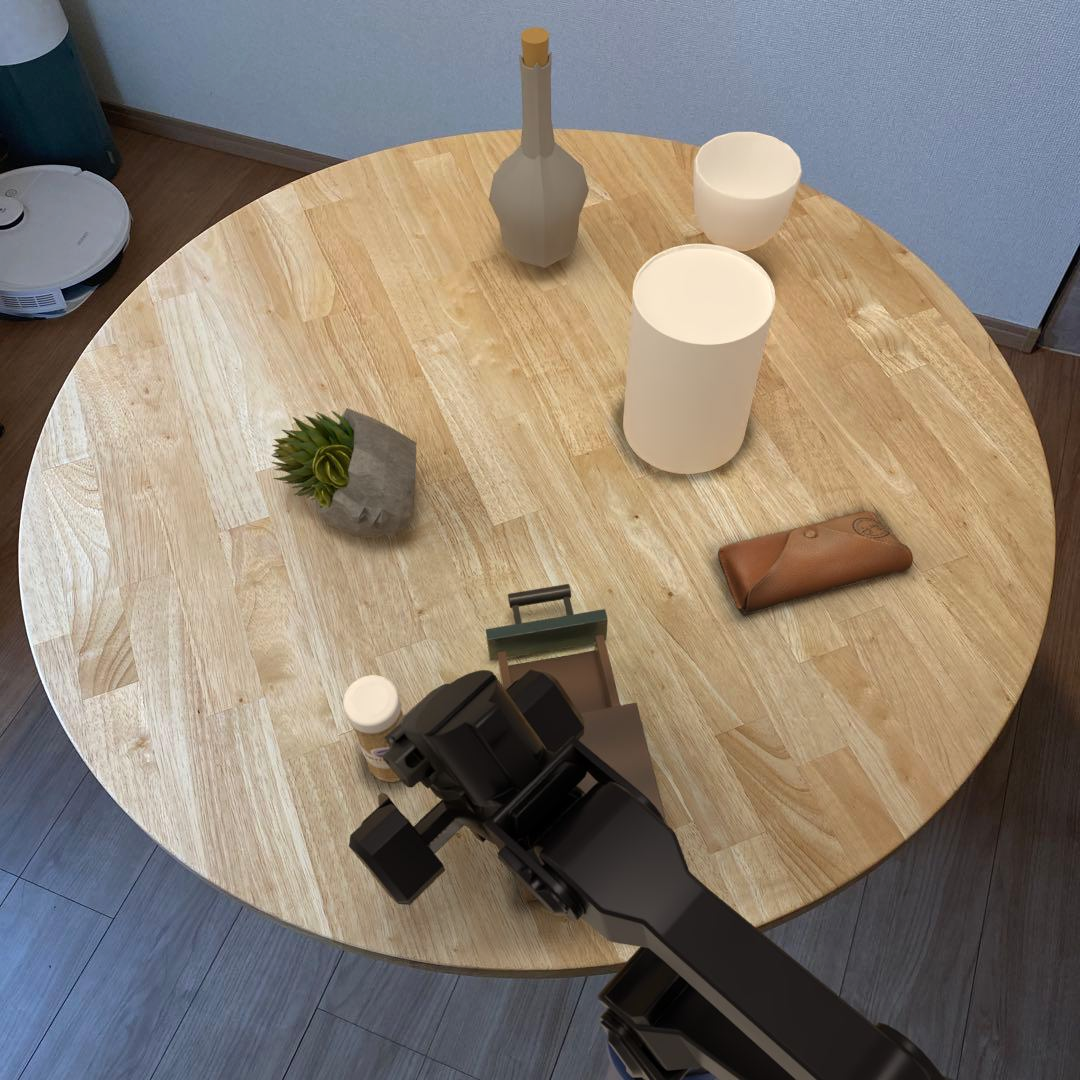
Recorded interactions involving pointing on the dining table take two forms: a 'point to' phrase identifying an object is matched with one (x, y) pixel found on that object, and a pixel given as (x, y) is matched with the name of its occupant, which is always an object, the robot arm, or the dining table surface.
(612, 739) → the cabinet
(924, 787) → the dining table surface
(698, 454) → the canister
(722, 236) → the cup
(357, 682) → the sprinkles bottle
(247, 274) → the dining table surface
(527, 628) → the drawer
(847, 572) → the sunglasses case
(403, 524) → the potted plant
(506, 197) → the bottle
